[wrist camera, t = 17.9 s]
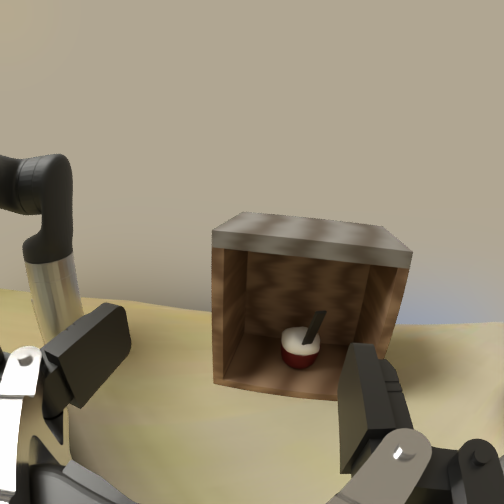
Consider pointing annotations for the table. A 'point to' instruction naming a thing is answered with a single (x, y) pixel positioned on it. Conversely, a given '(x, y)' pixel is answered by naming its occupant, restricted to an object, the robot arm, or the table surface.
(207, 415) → the table surface
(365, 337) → the under counter cubby
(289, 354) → the cream-topped red cup
